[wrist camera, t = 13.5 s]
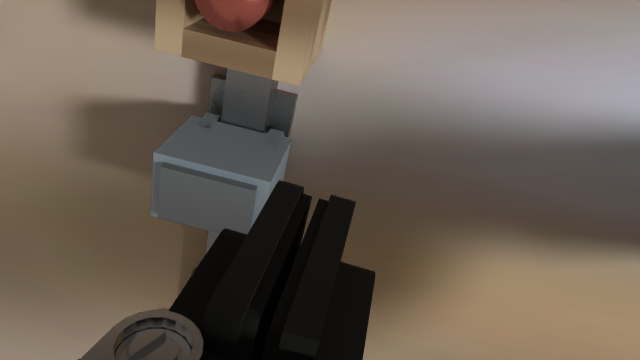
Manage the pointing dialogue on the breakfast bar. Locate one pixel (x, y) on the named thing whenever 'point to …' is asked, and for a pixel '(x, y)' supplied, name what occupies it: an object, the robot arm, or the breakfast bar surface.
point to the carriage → (216, 174)
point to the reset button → (234, 12)
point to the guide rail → (250, 107)
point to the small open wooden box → (247, 38)
